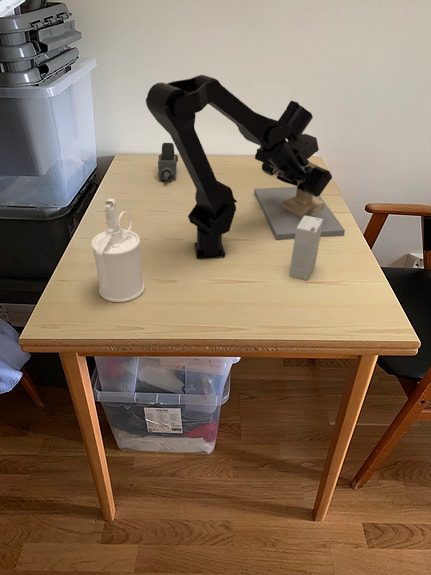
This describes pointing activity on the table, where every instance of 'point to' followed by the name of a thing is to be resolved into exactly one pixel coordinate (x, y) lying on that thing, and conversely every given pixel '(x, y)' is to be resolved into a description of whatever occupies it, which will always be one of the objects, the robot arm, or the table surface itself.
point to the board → (286, 221)
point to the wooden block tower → (303, 202)
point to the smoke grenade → (118, 259)
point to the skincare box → (305, 247)
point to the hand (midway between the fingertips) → (308, 188)
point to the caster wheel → (167, 162)
